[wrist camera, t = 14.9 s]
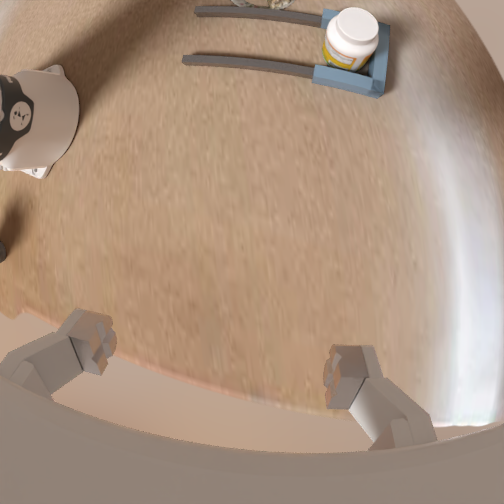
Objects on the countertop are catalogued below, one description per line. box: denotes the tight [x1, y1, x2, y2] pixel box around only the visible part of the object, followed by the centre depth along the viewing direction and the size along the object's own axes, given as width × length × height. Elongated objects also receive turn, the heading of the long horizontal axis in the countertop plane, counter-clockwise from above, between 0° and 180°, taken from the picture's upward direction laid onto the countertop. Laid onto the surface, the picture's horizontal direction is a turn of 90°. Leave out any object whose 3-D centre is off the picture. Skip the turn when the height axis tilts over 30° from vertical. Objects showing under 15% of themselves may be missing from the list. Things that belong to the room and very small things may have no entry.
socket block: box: [312, 9, 390, 99], centre depth 28 cm, size 8×10×3 cm
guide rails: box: [182, 6, 322, 79], centre depth 30 cm, size 16×8×2 cm, turn 80°
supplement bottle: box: [322, 7, 379, 73], centre depth 25 cm, size 5×5×10 cm
